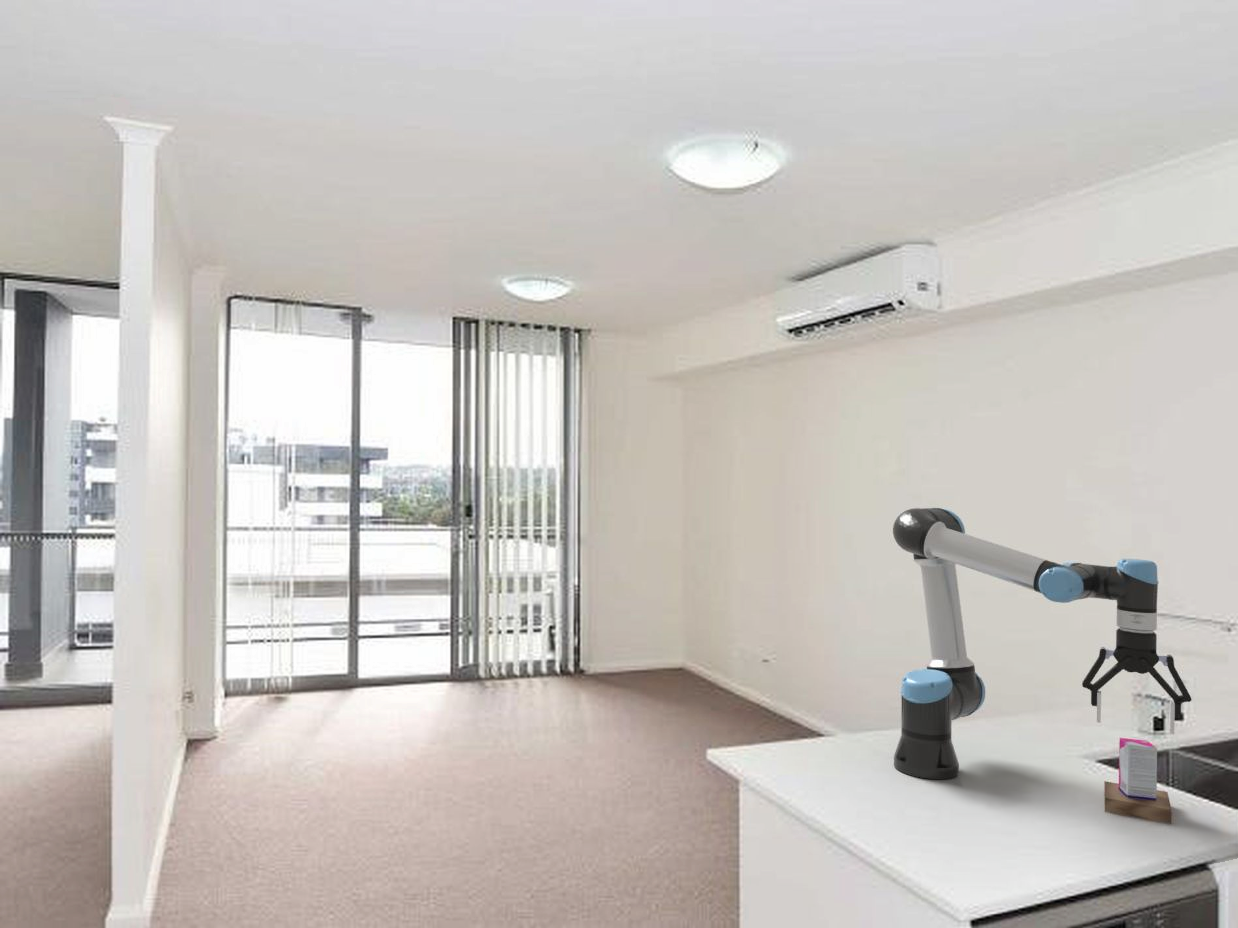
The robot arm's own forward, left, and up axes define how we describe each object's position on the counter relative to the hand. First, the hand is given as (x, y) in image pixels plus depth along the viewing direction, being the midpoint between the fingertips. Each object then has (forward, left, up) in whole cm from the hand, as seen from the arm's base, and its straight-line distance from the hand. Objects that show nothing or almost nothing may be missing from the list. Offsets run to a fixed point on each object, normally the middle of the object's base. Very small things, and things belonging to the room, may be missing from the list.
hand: (1134, 726), depth 179 cm
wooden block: (0, 0, -18) cm, 18 cm away
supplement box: (+1, 0, -15) cm, 15 cm away
